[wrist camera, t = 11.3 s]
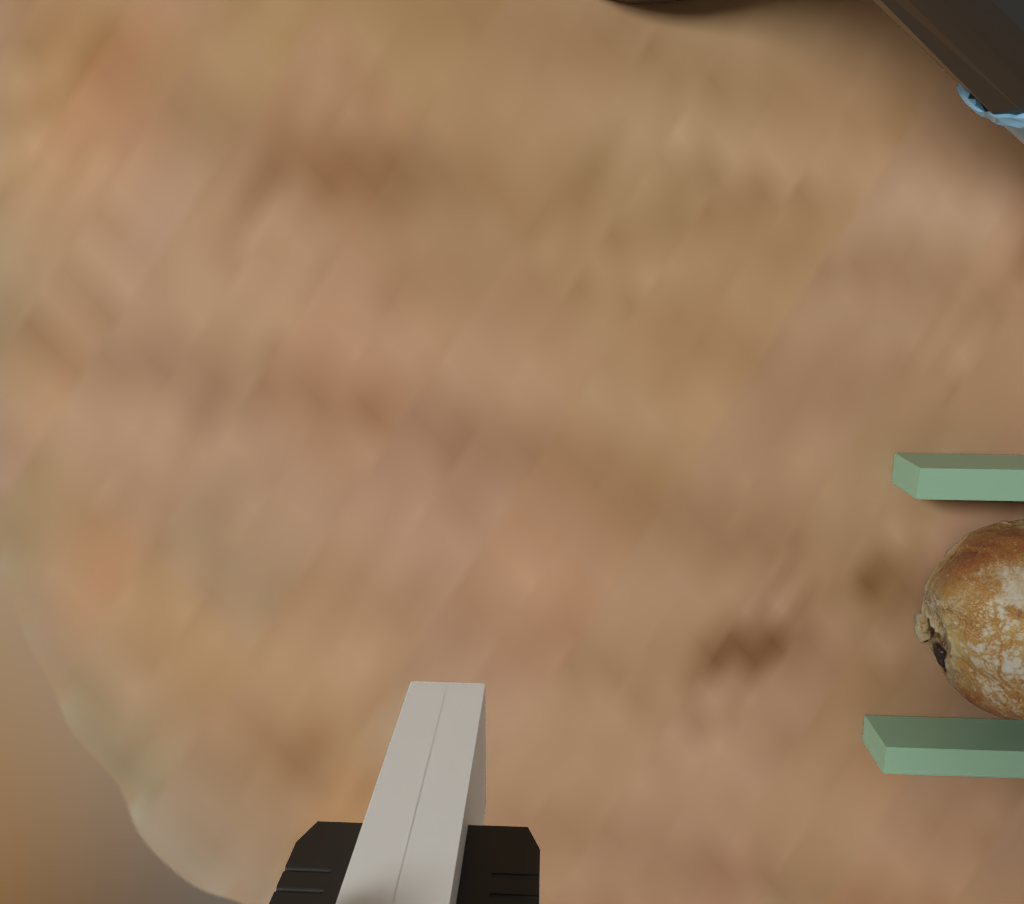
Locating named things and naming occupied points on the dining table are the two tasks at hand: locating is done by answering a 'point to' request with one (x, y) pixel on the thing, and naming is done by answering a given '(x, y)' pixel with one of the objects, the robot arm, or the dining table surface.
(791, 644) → the dining table surface
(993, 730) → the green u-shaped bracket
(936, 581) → the bread roll
